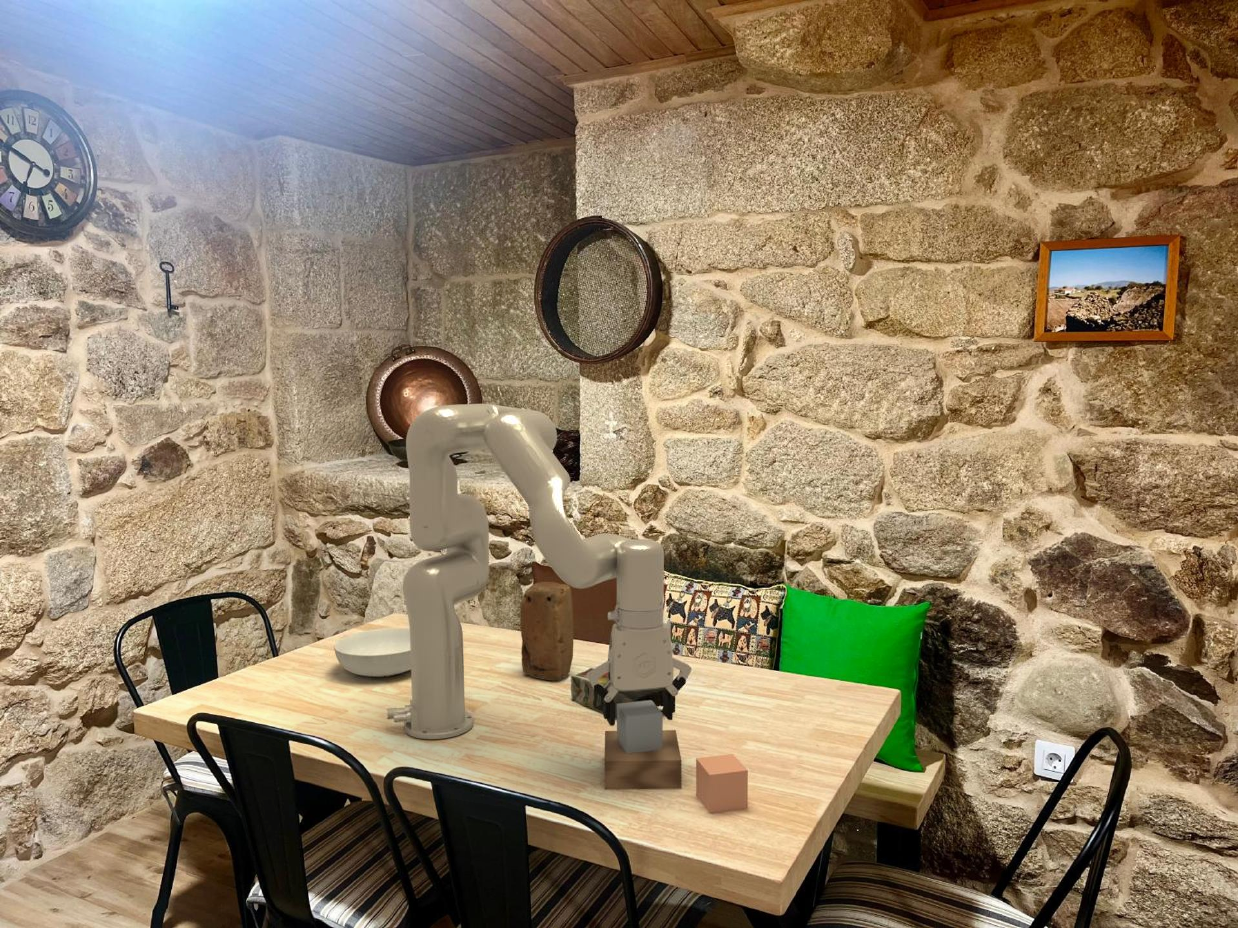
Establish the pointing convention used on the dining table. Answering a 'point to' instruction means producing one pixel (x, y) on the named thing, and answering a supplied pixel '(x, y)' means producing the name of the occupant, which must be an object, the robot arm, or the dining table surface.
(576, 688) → the juice carton
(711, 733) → the dining table surface
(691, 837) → the dining table surface
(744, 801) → the terracotta cube
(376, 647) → the serving bowl
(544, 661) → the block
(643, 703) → the grey cube
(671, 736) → the base block
